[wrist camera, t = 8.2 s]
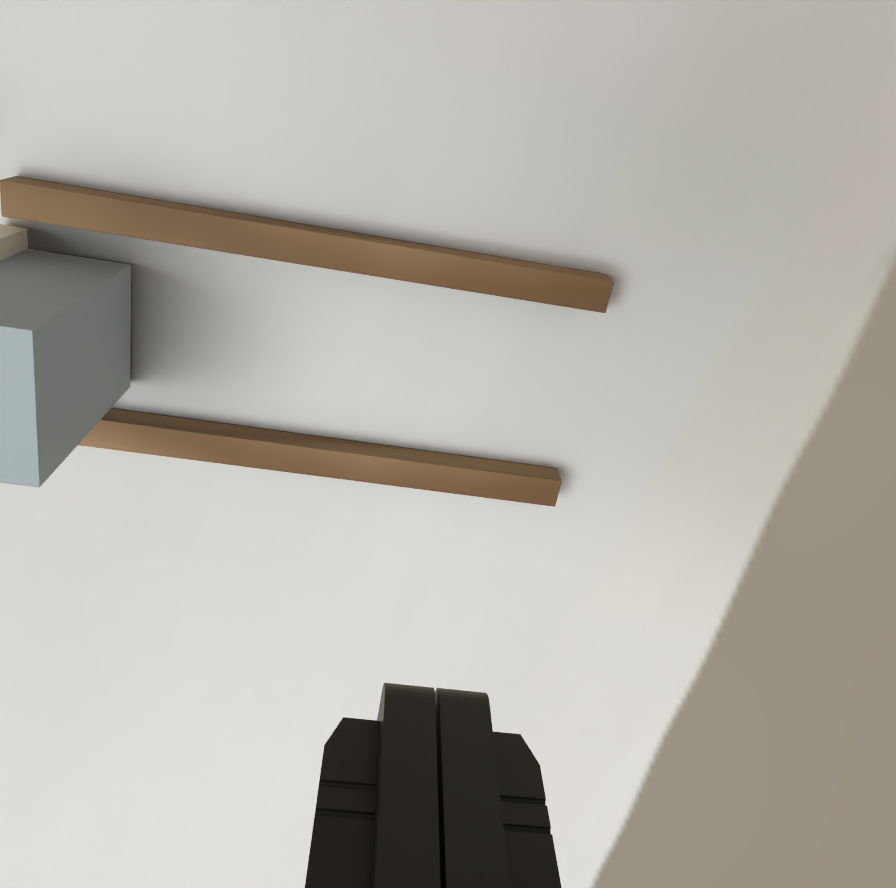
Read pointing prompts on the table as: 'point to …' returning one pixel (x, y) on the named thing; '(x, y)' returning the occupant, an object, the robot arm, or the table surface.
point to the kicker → (57, 353)
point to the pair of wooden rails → (325, 252)
